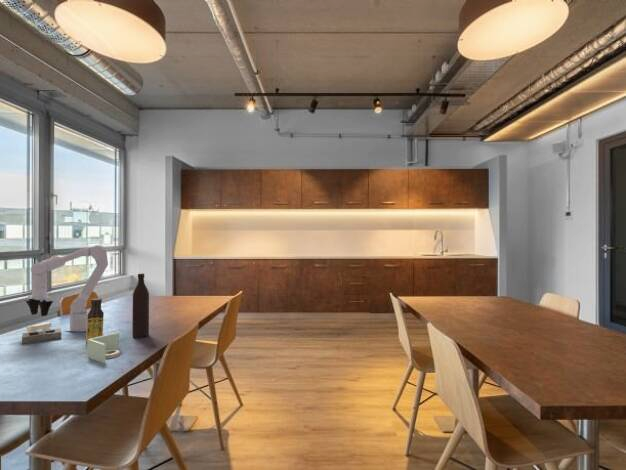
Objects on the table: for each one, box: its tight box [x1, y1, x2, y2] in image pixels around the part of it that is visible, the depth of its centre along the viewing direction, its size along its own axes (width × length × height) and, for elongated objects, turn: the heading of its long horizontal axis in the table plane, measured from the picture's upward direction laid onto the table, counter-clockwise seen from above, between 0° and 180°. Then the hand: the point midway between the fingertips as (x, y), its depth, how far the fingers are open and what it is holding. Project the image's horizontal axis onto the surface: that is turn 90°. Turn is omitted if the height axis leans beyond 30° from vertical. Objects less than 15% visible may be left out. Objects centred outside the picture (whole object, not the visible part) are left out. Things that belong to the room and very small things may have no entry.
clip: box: [26, 321, 52, 333], centre depth 166 cm, size 9×3×4 cm, turn 159°
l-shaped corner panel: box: [86, 331, 121, 364], centre depth 137 cm, size 12×12×8 cm
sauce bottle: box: [85, 297, 105, 345], centre depth 152 cm, size 6×6×20 cm
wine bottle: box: [131, 273, 150, 339], centre depth 163 cm, size 7×7×30 cm
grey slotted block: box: [21, 327, 62, 345], centre depth 158 cm, size 14×8×3 cm, turn 129°
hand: (39, 314), depth 166 cm, fingers open, 7 cm apart
